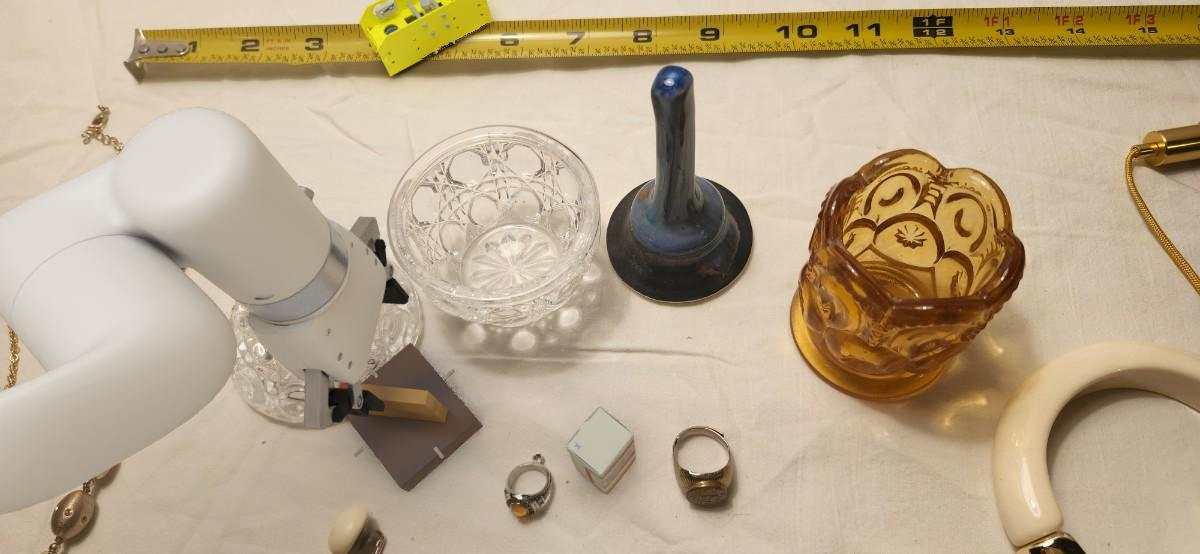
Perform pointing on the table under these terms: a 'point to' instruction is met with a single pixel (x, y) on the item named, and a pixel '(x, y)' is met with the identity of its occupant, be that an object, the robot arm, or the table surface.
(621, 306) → the table surface
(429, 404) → the yellow angled block
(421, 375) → the stand
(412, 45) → the yellow toy chassis
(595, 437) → the pale grey box
